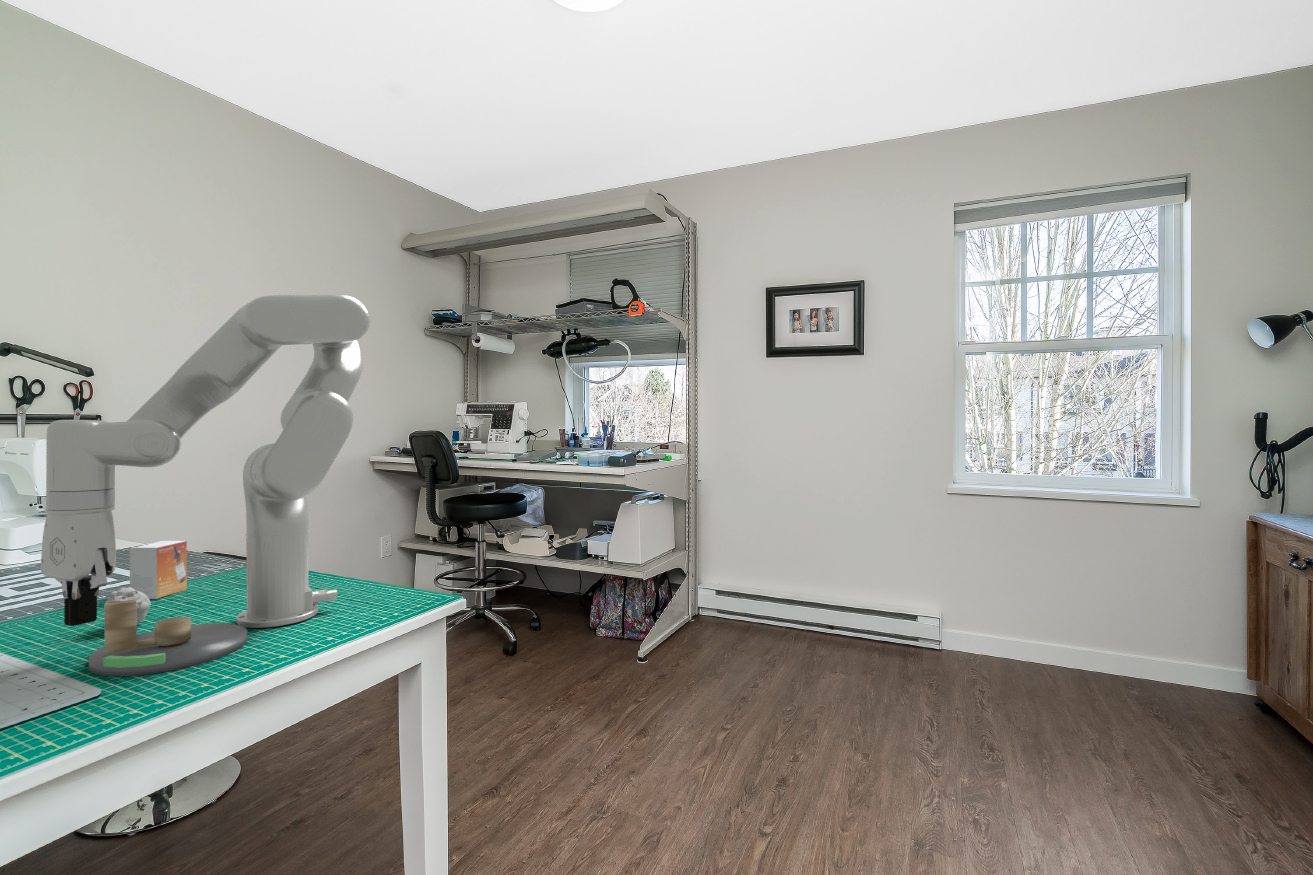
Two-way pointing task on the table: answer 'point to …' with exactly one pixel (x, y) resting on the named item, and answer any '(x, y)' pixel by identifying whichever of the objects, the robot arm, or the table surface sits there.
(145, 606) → the grey rounded lump
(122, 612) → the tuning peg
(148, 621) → the table surface
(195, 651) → the dial face
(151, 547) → the small box
